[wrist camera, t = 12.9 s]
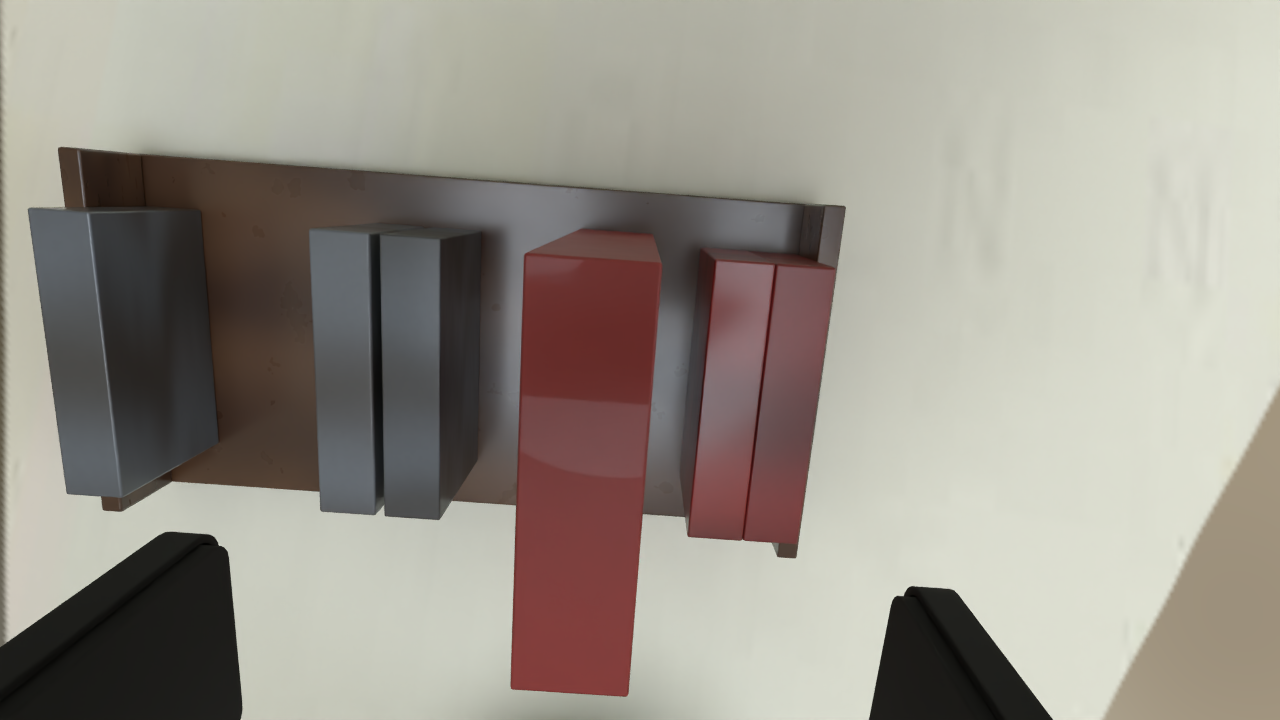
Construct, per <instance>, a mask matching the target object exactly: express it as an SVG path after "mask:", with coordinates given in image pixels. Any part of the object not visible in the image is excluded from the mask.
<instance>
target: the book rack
mask: <svg viewBox="0 0 1280 720" xmlns="http://www.w3.org/2000/svg"><path fill="white" fill-rule="evenodd" d="M58 154H59V162H60V170H61V178H62V186H63V194H64V202H65V207H36V208H29V209H28V214H29V222H30V229H31V236H32V244H33V251H34V258H35V265H36V273H37V280H38V287H39V295H40V302H41V309H42V316H43V324H44V331H45V338H46V346H47V353H48V360H49V367H50V375H51V382H52V389H53V397H54V404H55V411H56V418H57V426H58V433H59V440H60V448H61V455H62V462H63V469H64V477H65V484H66V491H67V494H73V495H88V496H101V499H102V507H103V510H104V511H118V512H121V511H124V510H125V509H127V508H129V507H130V506H132V505H134V504H135V503H137V502H139V501H140V500H142V499H144V498H146V497H147V496H149V495H151V494H152V493H154V492H156V491H157V490H159V489H161V488H162V487H164V486H166V485H167V484H169V483H171V482H172V481H175V482H189V483H204V484H218V485H232V486H247V487H261V488H276V489H290V490H304V491H319V492H320V510H321V511H322V512H335V513H350V514H364V515H376V514H377V512H378V511H379V510H380V509H381V508H382V507H383V505H384V508H385V516H389V517H404V518H418V519H433V520H440V518H441V517H442V515H443V514H444V512H445V511H446V509H447V507H448V506H449V504H450V503H451V501H463V502H477V503H492V504H506V505H516V494H517V462H518V430H519V398H520V366H521V334H522V301H523V269H524V254H525V253H527V252H529V251H531V250H534V249H536V248H538V247H540V246H543V245H545V244H547V243H550V242H552V241H554V240H556V239H559V238H561V237H563V236H565V235H568V234H570V233H572V232H575V231H577V230H579V229H593V230H606V231H620V232H634V233H647V234H653V236H654V239H655V243H656V246H657V249H658V253H659V256H660V259H661V263H662V277H661V290H660V302H659V315H658V328H657V340H656V353H655V365H654V378H653V391H652V403H651V416H650V428H649V441H648V453H647V466H646V479H645V491H644V504H643V514H650V515H664V516H679V517H685V520H686V528H687V535H688V537H696V538H710V539H725V540H739V541H741V540H742V539H743V540H745V541H756V542H771V543H772V544H773V547H774V549H775V552H776V555H777V557H783V558H796V556H797V549H798V542H799V535H800V528H801V521H802V514H803V507H804V499H805V492H806V485H807V478H808V471H809V464H810V457H811V450H812V443H813V436H814V429H815V422H816V415H817V408H818V401H819V394H820V386H821V379H822V372H823V365H824V358H825V351H826V344H827V337H828V330H829V323H830V316H831V309H832V302H833V295H834V288H835V281H836V273H837V266H838V259H839V252H840V245H841V238H842V231H843V224H844V217H845V210H846V207H845V206H837V205H817V204H795V203H782V202H769V201H756V200H742V199H729V198H716V197H703V196H689V195H676V194H663V193H650V192H636V191H623V190H610V189H597V188H584V187H570V186H557V185H544V184H531V183H517V182H504V181H491V180H478V179H464V178H451V177H438V176H425V175H411V174H398V173H385V172H372V171H359V170H345V169H332V168H319V167H306V166H292V165H279V164H266V163H253V162H239V161H226V160H213V159H200V158H186V157H173V156H160V155H147V154H135V153H124V152H114V151H103V150H93V149H82V148H70V147H59V148H58Z"/></svg>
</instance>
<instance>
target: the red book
mask: <svg viewBox="0 0 1280 720" xmlns="http://www.w3.org/2000/svg"><path fill="white" fill-rule="evenodd" d="M661 277H662V263H661V259H660V256H659V253H658V249H657V246H656V243H655V239H654V236H653V234H647V233H634V232H620V231H606V230H593V229H579V230H577V231H575V232H572V233H570V234H568V235H565V236H563V237H561V238H559V239H556V240H554V241H552V242H550V243H547V244H545V245H543V246H540V247H538V248H536V249H534V250H531V251H529V252H527V253H525V254H524V269H523V301H522V334H521V366H520V398H519V430H518V462H517V494H516V526H515V558H514V590H513V622H512V654H511V689H515V690H530V691H546V692H561V693H576V694H592V695H607V696H623V697H626V696H627V695H628V693H629V680H630V667H631V655H632V642H633V630H634V617H635V604H636V592H637V579H638V567H639V554H640V542H641V529H642V516H643V504H644V491H645V479H646V466H647V453H648V441H649V428H650V416H651V403H652V391H653V378H654V365H655V353H656V340H657V328H658V315H659V302H660V290H661Z"/></svg>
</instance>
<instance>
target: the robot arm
mask: <svg viewBox="0 0 1280 720" xmlns="http://www.w3.org/2000/svg"><path fill="white" fill-rule="evenodd" d="M241 715H242V695H241V684H240V673H239V663H238V652H237V641H236V630H235V619H234V609H233V598H232V587H231V576H230V565H229V556H228V552H227V550H226V549H225V548H224V547H222V546H219V545H218V542H217V540H216V539H215V537H213V536H211V535H208V534H194V533H180V532H165V533H163V534H161V535H159V536H157V537H156V538H154V539H153V540H151V541H150V542H149V543H147V544H146V545H144V546H143V547H142V548H140V549H139V550H137V551H136V552H134V553H133V554H132V555H130V556H129V557H127V558H126V559H125V560H123V561H122V562H120V563H119V564H117V565H116V566H115V567H113V568H112V569H110V570H109V571H108V572H106V573H105V574H103V575H102V576H100V577H99V578H98V579H96V580H95V581H93V582H92V583H91V584H89V585H88V586H86V587H85V588H84V589H82V590H81V591H79V592H78V593H76V594H75V595H74V596H72V597H71V598H69V599H68V600H67V601H65V602H64V603H62V604H61V605H59V606H58V607H57V608H55V609H54V610H52V611H51V612H50V613H48V614H47V615H45V616H44V617H42V618H41V619H40V620H38V621H37V622H35V623H34V624H33V625H31V626H30V627H28V628H27V629H25V630H24V631H23V632H21V633H20V634H18V635H17V636H16V637H14V638H13V639H11V640H10V641H9V642H7V643H6V644H4V645H3V646H1V647H0V720H240V719H241ZM869 720H1053V719H1052V718H1051V717H1050V715H1049V714H1048V713H1047V711H1046V710H1045V709H1044V707H1043V706H1042V705H1041V703H1040V702H1039V701H1038V699H1037V698H1036V697H1035V695H1034V694H1033V693H1032V691H1031V690H1030V689H1029V687H1028V686H1027V685H1026V683H1025V682H1024V681H1023V680H1022V678H1021V677H1020V676H1019V674H1018V673H1017V672H1016V670H1015V669H1014V668H1013V666H1012V665H1011V664H1010V662H1009V661H1008V660H1007V658H1006V657H1005V656H1004V654H1003V653H1002V652H1001V650H1000V649H999V648H998V646H997V645H996V644H995V643H994V641H993V640H992V639H991V637H990V636H989V635H988V633H987V632H986V631H985V629H984V628H983V627H982V625H981V624H980V623H979V621H978V620H977V619H976V617H975V616H974V615H973V613H972V612H971V611H970V609H969V608H968V607H967V606H966V604H965V603H964V602H963V600H962V599H961V598H960V596H959V595H958V594H957V593H956V592H955V591H954V590H951V589H942V588H929V587H915V586H911V587H909V588H908V589H907V590H906V592H905V594H904V596H896V597H895V598H894V599H893V601H892V604H891V608H890V614H889V619H888V624H887V629H886V634H885V640H884V645H883V650H882V655H881V660H880V666H879V671H878V676H877V681H876V686H875V692H874V697H873V702H872V707H871V712H870V718H869Z"/></svg>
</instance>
